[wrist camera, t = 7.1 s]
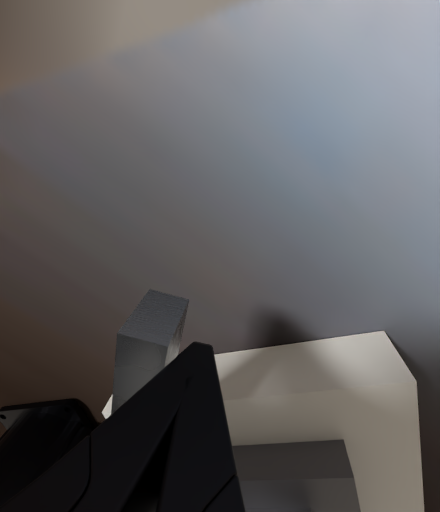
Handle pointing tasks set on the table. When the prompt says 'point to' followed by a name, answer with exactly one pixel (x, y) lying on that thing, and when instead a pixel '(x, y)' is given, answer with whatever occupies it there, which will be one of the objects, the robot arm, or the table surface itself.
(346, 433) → the socket block
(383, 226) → the table surface
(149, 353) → the bar
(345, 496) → the plug
